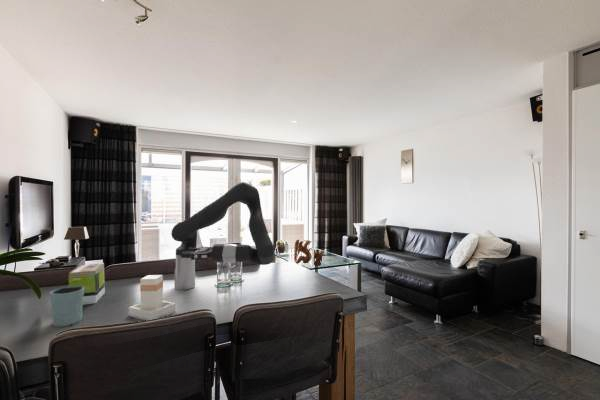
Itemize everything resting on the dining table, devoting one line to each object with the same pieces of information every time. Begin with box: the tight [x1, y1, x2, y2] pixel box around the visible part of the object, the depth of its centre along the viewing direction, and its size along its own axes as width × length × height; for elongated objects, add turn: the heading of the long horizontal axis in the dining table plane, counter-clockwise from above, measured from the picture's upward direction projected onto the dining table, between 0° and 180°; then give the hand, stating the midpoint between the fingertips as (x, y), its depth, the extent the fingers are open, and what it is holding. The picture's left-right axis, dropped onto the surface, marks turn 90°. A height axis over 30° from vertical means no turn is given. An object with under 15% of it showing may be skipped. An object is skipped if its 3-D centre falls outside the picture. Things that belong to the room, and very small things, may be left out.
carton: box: [139, 274, 164, 311], centre depth 117 cm, size 6×6×14 cm
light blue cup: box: [49, 286, 84, 327], centre depth 110 cm, size 10×10×12 cm
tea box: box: [68, 262, 106, 306], centre depth 134 cm, size 15×10×15 cm
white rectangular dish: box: [128, 300, 176, 321], centre depth 117 cm, size 13×11×4 cm
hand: (184, 252), depth 119 cm, fingers open, 8 cm apart
